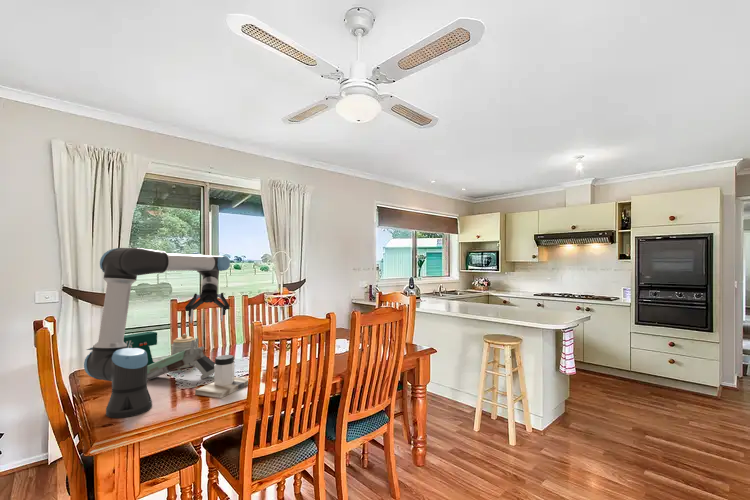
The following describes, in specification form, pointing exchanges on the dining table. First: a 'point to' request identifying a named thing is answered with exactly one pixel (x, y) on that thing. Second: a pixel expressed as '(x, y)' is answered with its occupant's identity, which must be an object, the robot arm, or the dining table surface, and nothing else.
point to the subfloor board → (221, 388)
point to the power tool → (141, 342)
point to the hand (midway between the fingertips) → (206, 320)
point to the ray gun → (183, 362)
